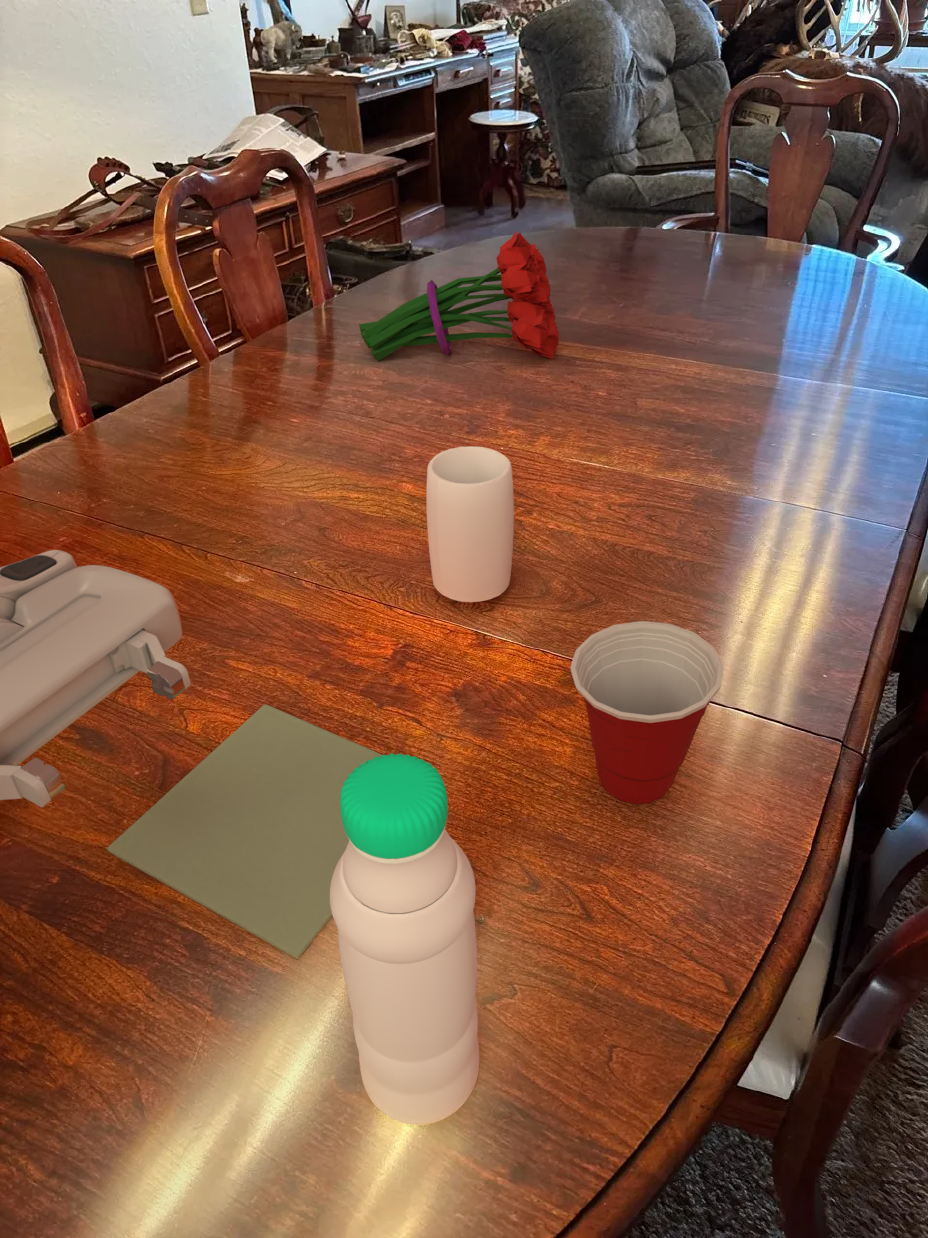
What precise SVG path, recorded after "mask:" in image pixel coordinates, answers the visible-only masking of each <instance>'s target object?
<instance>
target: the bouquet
mask: <svg viewBox="0 0 928 1238" xmlns="http://www.w3.org/2000/svg"><path fill="white" fill-rule="evenodd" d="M495 258H496V264H497V267H496V268H495V269H494V270H491V271H490V272H489V273H487V274H485V275H480V276H469V277H458V278H457V279H454V280H451V281H450V282H448V283H446V284H443V285H442V286H439V287H438V285H437V283H435V281H434V280H433V279H431V280H429V281H428V282H427V283H426V285H427V286H426V293H423V294H422V295H419V296H417V297H415V298H412V299H410V300H407V301H406V302H405V303H403V304H402V305H400V306H399V307H397V308H395V309H394V310H392V311H390V312H389V313H388V314H385V316H382V317H381V318H380V319H378V320H377V321H370V322H365V323H358V326H359V331H360V335H361V338H362V339H363V342H364V343H365V346H366V347H367V349H369V350H370V351H371V354H372V356H373V357H374V358H375V360H376V361H377V362H380V361H382V360H384V359H385V358H386V357H387V356H390V355H392V354H393V353H395V352H396V351H398V350H399V349H401V348H406V347H416V346H425V345H432V344H438V345H439V347H440V349H441V352H442V354H443V355H449V354H450V353H452V342H456V341H464V340H471V339H512V340H513V341H515V342H517V343H518V344H519V345H520V346H521V347H522V348H525V349H528V350H530V351H531V352H532V353H533V354H534V355H536V356H540V357H545V358H548V359H552V360H553V359H554V356H555V354H556V350H557V349H558V345H559V338H560V331H559V329H558V326H557V322H556V312H555V309H554V306H553V303H552V301H551V299H550V297H551V291H552V289H551V283H550V280H549V277H548V276H547V269H548V268H547V266H546V263H545V258H544V256H543V254H542V253H541V252H540V250H539V248H537V246H536V243H533V244H531V243H530V242H529V241H528V240H527V239H526V237H525V236H523V235H522V233H521V232H518V231H517V230H515V232H514V233H513V235H512V236H511V237H510V238H509V239H507V240H506V242H504V243H503V244H502V245H501V246H499V253H498V255H497V256H496V257H495ZM493 282H501V283H497V284H495V283H494V284H493ZM485 283H492V284H485ZM463 285H469V286H463ZM483 291H503V293H489V294H474V293H478V292H483ZM470 294H471V295H470ZM478 299H482V300H479V301H475V302H471V303H468V304H464V305H462V306H458V307H455V308H453V307H454V306H456V305H458V304H460V303H462V302H465V301H468V300H478ZM506 300H509V301H508V302H507V307H506V308H507V309H503V310H499V309H497V310H496V309H495V310H493V309H492V310H491V309H490V310H482V311H476V312H468V311H470V310H474V309H477V308H480V307H483V306H487V305H489V304H493V303H496V302H501V301H506ZM510 300H512V301H510ZM465 312H467V313H465ZM505 314H507V316H508V317H505V316H495V315H505ZM493 315H494V316H493ZM469 322H476V323H480V324H485V325H488V326H492V327H498V328H502V329H506V330H511V334H510V333H507V332H484V331H483V332H482V331H481V332H480V331H475V332H473V331H472V332H462V333H449V328H452V327H455V326H459V325H463V324H466V323H469ZM498 322H509V323H512V326H509V325H505V324H503V323H498ZM433 333H435V334H433ZM429 334H432V335H429Z"/></svg>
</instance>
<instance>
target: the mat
mask: <svg viewBox="0 0 928 1238" xmlns="http://www.w3.org/2000/svg"><path fill="white" fill-rule="evenodd" d="M382 755H383V754H382V753H380V752H377V751H375V750H372V749H371V748H368V747H365V746H363V745H361V744H358V743H356V742H354V741H352V740H350V739H347V738H345V737H342V736H340V735H338V734H336V733H333V732H331V731H330V730H327V729H324V728H322V727H319V726H317V725H315V724H312V723H310V722H308V721H305V720H303V719H301V718H298V717H296V716H294V715H292V714H290V713H287V712H285V711H283V710H280V709H278V708H275V707H273V706H271V705H268V704H266V703H264V704H262V705H261V706H260V708H258V709H257V710H256V711H255V712H254V713H253V714H252V715H251V716H250V717H248V718H247V719H246V720H245V721H244V722H243V723H242V724H241V725H240V726H238V728H237V729H235V730H234V731H233V732H232V733H231V734H230V735H229V736H228V737H227V738H226V739H224V741H222V742H221V743H220V744H219V745H218V746H217V747H216V748H214V749H213V750H212V751H211V752H210V753H209V754H208V755H207V756H206V757H205V758H203V759H202V760H201V761H200V762H199V763H198V764H197V765H196V766H195V767H194V768H193V769H191V770H190V771H189V772H188V773H187V774H186V775H185V776H184V777H183V778H181V780H180V781H178V782H177V783H176V784H175V785H174V786H173V787H172V788H171V789H170V790H169V791H167V792H166V793H165V794H164V795H163V796H162V797H161V798H160V799H158V801H156V802H155V803H154V804H153V805H152V806H151V807H150V808H149V809H148V810H146V811H145V812H144V813H143V814H142V815H141V816H140V817H139V818H138V819H137V820H136V821H134V823H132V824H131V825H130V826H129V827H128V828H127V829H126V830H125V831H123V832H122V833H121V834H120V835H119V836H118V837H117V838H116V839H115V840H114V841H113V842H112V843H111V844H109V846H107V847H106V850H107V852H108V853H110V854H112V855H114V856H115V857H117V858H119V860H122V861H124V862H125V863H127V864H129V865H131V866H133V867H134V868H136V869H138V870H139V871H141V872H143V873H144V874H147V876H150V877H152V878H153V879H155V880H157V881H159V882H161V883H162V884H164V885H166V886H167V887H169V888H171V889H173V890H175V891H176V892H178V893H180V894H181V895H183V896H185V897H187V898H189V899H190V900H192V901H193V902H196V904H197V903H198V904H199V905H200V906H202V907H204V908H205V909H208V910H210V911H211V912H212V913H214V914H217V915H218V916H220V917H222V918H223V919H226V920H227V921H229V922H231V923H232V924H234V925H236V926H238V927H240V928H241V929H242V930H245V931H247V932H248V933H249V934H252V935H253V936H255V937H257V938H259V939H261V940H262V941H264V942H266V943H268V944H269V945H271V946H272V947H274V948H275V949H278V950H280V951H282V952H284V953H285V954H287V955H288V956H290V957H292V958H294V959H296V960H299V959H300V958H301V957H302V955H303V954H304V952H305V951H306V950H307V949H308V948H309V946H310V945H311V944H312V942H313V941H314V940H315V939H316V938H317V937H318V935H319V934H320V933H321V931H322V930H323V929H324V928H325V926H326V925H327V924H328V923H329V922H330V920H331V919H332V918H333V915H332V911H331V906H330V885H331V880H332V876H333V873H334V870H335V868H336V865H337V863H338V861H339V860H340V858H341V856H342V855H343V853H344V851H345V850H346V847H347V845H348V843H349V839H348V836H347V834H346V832H345V829H344V826H343V823H342V818H341V809H340V794H341V789H342V787H343V784H344V781H345V780H347V777H348V775H349V774H350V773H352V772H353V770H354V769H355V768H357V767H359V765H360V764H362V763H366V761H367V760H372V759H373V758H375V757H381V756H382Z"/></svg>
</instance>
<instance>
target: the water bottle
mask: <svg viewBox="0 0 928 1238" xmlns="http://www.w3.org/2000/svg"><path fill="white" fill-rule="evenodd" d="M446 787H447V786H446V784H445V782H444V780H443V777H442V775H441V774H440V773H439V771H438V768H436V767H435V766H433V764H432V763H431V762H427V761H426V760H424V759H423V758H419V757H417V756H416V755H413V756H411V755H410V754H408V753H407V754H403V753H401V752H400V753H397V754H396V753H394V752H393V753H392V752H391V753H389V754H382V756H381V757H375V758H373V759H372V760H367V761H366V763H362V764H360V765H359V767H357V768H355V769H354V770H353V772H352V773H350V774H349V775H348V777H347V780H345V781H344V784H343V787H342V789H341V794H340V809H341V818H342V823H343V826H344V829H345V832H346V834H347V836H348V839H349V843H348V845H347V847H346V850H345V851H344V853H343V855H342V856H341V858H340V860H339V861H338V863H337V865H336V868H335V870H334V873H333V876H332V880H331V885H330V906H331V911H332V915H333V916H332V918H333V921H334V924H335V926H336V928H337V941H338V949H339V956H340V963H341V969H342V974H343V981H344V986H345V989H346V994H347V999H348V1002H349V1007H350V1009H351V1012H352V1028H353V1036H354V1040H355V1044H356V1047H357V1051H358V1061H359V1071H360V1075H361V1081H362V1084H363V1087H364V1089H365V1093H366V1094H367V1096H368V1098H369V1099H370V1100H371V1102H372V1104H373V1105H374V1106H375V1107H376V1108H377V1109H378V1111H380V1112H381V1113H382V1114H383V1115H385V1116H387V1117H388V1118H389V1119H392V1120H393V1121H397V1122H399V1123H401V1124H404V1125H414V1126H423V1125H430V1124H434V1123H437V1122H440V1121H443V1120H444V1119H447V1118H448V1117H450V1116H451V1115H453V1114H454V1113H456V1112H458V1110H459V1109H460V1108H461V1107H462V1106H463V1105H464V1104H465V1103H466V1101H467V1100H468V1099H469V1098H470V1097H471V1094H472V1092H473V1090H474V1089H475V1086H476V1083H477V1080H478V1077H479V1071H480V1061H481V1060H480V1059H481V1057H480V1044H479V1036H478V1032H479V1010H478V1002H477V998H476V995H477V982H478V980H477V978H478V951H477V950H478V949H477V930H476V922H475V913H474V912H475V911H474V908H475V903H476V894H477V890H476V888H477V887H476V878H475V874H474V870H473V867H472V865H471V863H470V860H469V858H468V857H467V855H466V853H465V852H464V851H463V849H462V848H461V846H460V845H459V844H458V843H457V842H456V841H455V840H454V839H453V838H452V837H451V836H450V834H449V833H448V831H447V830H446V824H447V821H448V814H449V813H448V812H449V799H448V798H449V797H448V793H447V788H446Z"/></svg>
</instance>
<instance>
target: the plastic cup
mask: <svg viewBox="0 0 928 1238" xmlns="http://www.w3.org/2000/svg"><path fill="white" fill-rule="evenodd" d="M569 669H570V672H571V676H572V679H573V682H574V686H575V688H576V690H577V692H578V693H579V694H580V695H581V696H582V697H583V699H584V703H585V706H586V713H587V719H588V727H589V732H590V739H591V744H592V749H593V752H594V758H595V767H596V772H597V776H598V779H599V781H600V785H601V786H602V788H603V789H604V790H605V791H606V792H607V793H608V794H609V795H610V796H612V797H614V798H615V799H617V800H619V801H621V802H623V803H627V804H634V805H642V804H643V805H645V804H651V803H654V802H656V801H657V800H660V799H663V797H664V796H665V794H666V793H667V792H668V791H669V790H670V788H671V787H672V785H674V782H675V780H676V777H677V775H678V773H679V770H680V768H681V766H682V765H683V764H684V762H685V759H686V757H687V754H688V752H689V749H690V747H691V744H692V742H693V740H694V737H695V735H696V732H697V730H698V727H699V725H700V723H701V720H702V718H703V717H704V715H705V713H706V710H707V707H708V706H709V705H710V702H711V701H712V699H713V698H714V697H715V696H716V695H717V693H718V692H719V691H720V689H721V687H722V683H723V682H722V681H723V675H724V663H723V662H722V660H721V658H720V656H719V654H718V652H717V650H716V648H715V647H714V646H713V645H712V644H710V643H709V642H708V641H707V640H705V639H704V638H702V637H701V636H700V635H699V634H698V633H696V632H694V631H691V630H688V629H686V628H683V627H680V626H679V625H678V626H677V625H675V624H672V623H668V622H667V623H666V622H657V621H656V622H655V621H647V620H639V621H632V622H624V623H618V624H613V625H611V626H608V627H606V628H603V629H601V630H599V631H597V632H594V633H592V634H591V635H589V637H587V638H586V639H585V640H584V641H583V642H582V643H581V644H580V645H579V646H578V647H577V648H576V649H575V652H574V655H573V658H572V661H571V663H570V667H569Z"/></svg>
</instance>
